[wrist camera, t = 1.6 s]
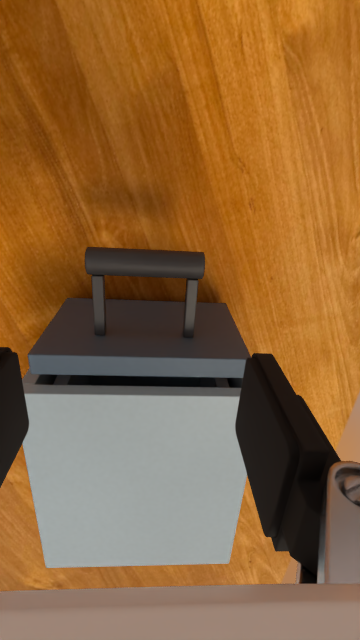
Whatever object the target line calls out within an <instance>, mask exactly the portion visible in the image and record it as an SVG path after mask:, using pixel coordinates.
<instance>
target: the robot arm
mask: <svg viewBox="0 0 360 640" xmlns="http://www.w3.org/2000/svg"><path fill="white" fill-rule="evenodd" d="M28 429H29V418H28V412H27V406H26V400H25V394H24V389H23V383H22V377H21V371H20V365H19V360H18V355H17V353H15V352H12V351H11V349H10V348H9V347H0V487H1V485H2V483H3V481H4V479H5V477H6V475H7V473H8V471H9V469H10V467H11V465H12V463H13V461H14V459H15V457H16V455H17V453H18V451H19V449H20V447H21V445H22V443H23V441H24V439H25V437H26V435H27V432H28ZM235 431H236V436H237V440H238V443H239V447H240V450H241V454H242V457H243V461H244V465H245V468H246V472H247V475H248V479H249V482H250V486H251V489H252V493H253V497H254V500H255V504H256V507H257V511H258V514H259V518H260V521H261V525H262V529H263V532H264V534H265V536H266V537H271V538H272V542H273V545H274V548H275V551H289V553H290V556H291V557H293V558H294V559H295V560H296V561H298V564H297V574H296V584H256V585H213V586H170V587H134V588H98V589H64V590H30V591H0V640H360V463H357V462H353V461H341V460H340V458H339V457H338V455H337V453H336V452H335V450H334V449H333V447H332V445H331V444H330V442H329V440H328V439H327V437H326V435H325V434H324V432H323V431H322V429H321V427H320V426H319V424H318V422H317V421H316V419H315V417H314V416H313V414H312V413H311V411H310V409H309V408H308V406H307V404H306V403H305V401H304V399H303V398H302V397H301V396H299V395H296V393H295V392H294V390H293V388H292V387H291V385H290V383H289V382H288V380H287V378H286V376H285V375H284V373H283V371H282V370H281V368H280V366H279V365H278V363H277V361H276V360H275V358H274V356H273V355H272V354H261V353H254V354H253V355H252V358H247V359H246V363H245V369H244V375H243V381H242V387H241V392H240V398H239V404H238V410H237V416H236V422H235Z"/></svg>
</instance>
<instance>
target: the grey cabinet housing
mask: <svg viewBox="0 0 360 640" xmlns="http://www.w3.org/2000/svg"><path fill="white" fill-rule="evenodd" d="M56 377H57V375H49V374H31V372H30V368H29V370H28V371H27V373H26V375H25V376H24V378H23V379H22V383H23V389H24V394H25V400H26V406H27V412H28V418H29V429H28V432H27V435H26V437H25V439H24V441H23V448H24V454H25V459H26V464H27V470H28V475H29V480H30V485H31V491H32V496H33V501H34V506H35V512H36V517H37V522H38V528H39V533H40V538H41V543H42V549H43V554H44V559H45V565H46V568H62V567H103V566H144V565H185V564H226V563H229V560H230V556H231V551H232V546H233V541H234V536H235V531H236V526H237V521H238V517H239V512H240V507H241V502H242V497H243V492H244V487H245V483H246V478H247V472H246V468H245V465H244V461H243V457H242V454H241V450H240V447H239V443H238V440H237V436H236V431H235V422H236V416H237V410H238V404H239V398H240V392H241V387H242V381H243V378H227V380H228V384H229V387H230V388H218V387H155V386H92V385H53V384H54V382H55V379H56Z"/></svg>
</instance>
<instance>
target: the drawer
mask: <svg viewBox="0 0 360 640" xmlns="http://www.w3.org/2000/svg"><path fill="white" fill-rule="evenodd" d="M85 269H86V272H87V274H90V275H92V276H91V278H92V296H93V299H89V298H67V299H66V301H65V302H64V303H63V305H62V306H61V308H60V309H59V311H58V312H57V313H56V315H55V316H54V318H53V319H52V321H51V322H50V323H49V325H48V326H47V328H46V329H45V331H44V332H43V334H42V335H41V336H40V338H39V339H38V341H37V342H36V344H35V345H34V346H33V348H32V349H31V351H30V352H29V354H28V359H29V366H30V372H31V374H49V375H57V377H56V379H55V382H54V384H53V385H92V386H155V387H218V388H230V387H229V384H228V380H227V378H243V375H244V369H245V363H246V359H247V358H251V356H250V354H249V352H248V350H247V347H246V345H245V343H244V341H243V339H242V337H241V335H240V333H239V331H238V328H237V326H236V324H235V322H234V320H233V318H232V316H231V314H230V312H229V309H228V307H227V305H226V303H202V302H197V293H198V279H202V278H203V276H204V269H205V255H204V253H203V252H189V251H167V250H146V249H124V248H103V247H87V249H86V252H85ZM105 275H115V276H140V277H164V278H187V280H186V295H185V302H174V301H146V300H117V299H105Z"/></svg>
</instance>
